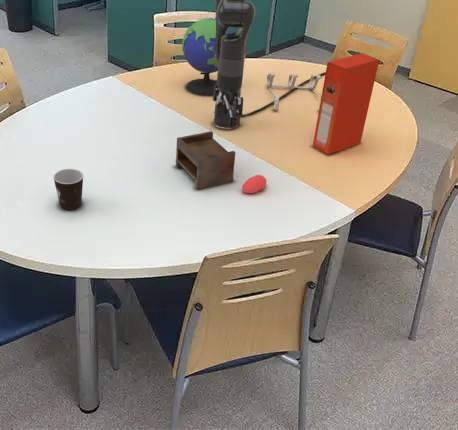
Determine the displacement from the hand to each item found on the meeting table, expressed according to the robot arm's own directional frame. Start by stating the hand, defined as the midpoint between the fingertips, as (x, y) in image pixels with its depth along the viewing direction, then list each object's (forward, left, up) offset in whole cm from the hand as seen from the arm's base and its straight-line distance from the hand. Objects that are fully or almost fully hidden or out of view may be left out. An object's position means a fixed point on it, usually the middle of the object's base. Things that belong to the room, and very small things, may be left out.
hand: (225, 121), depth 181 cm
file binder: (-52, -5, -21) cm, 56 cm away
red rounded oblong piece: (-7, +10, -21) cm, 24 cm away
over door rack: (-62, -46, -21) cm, 80 cm away
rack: (+3, -5, -21) cm, 22 cm away
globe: (-32, -70, -21) cm, 80 cm away
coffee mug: (+50, -3, -21) cm, 54 cm away
